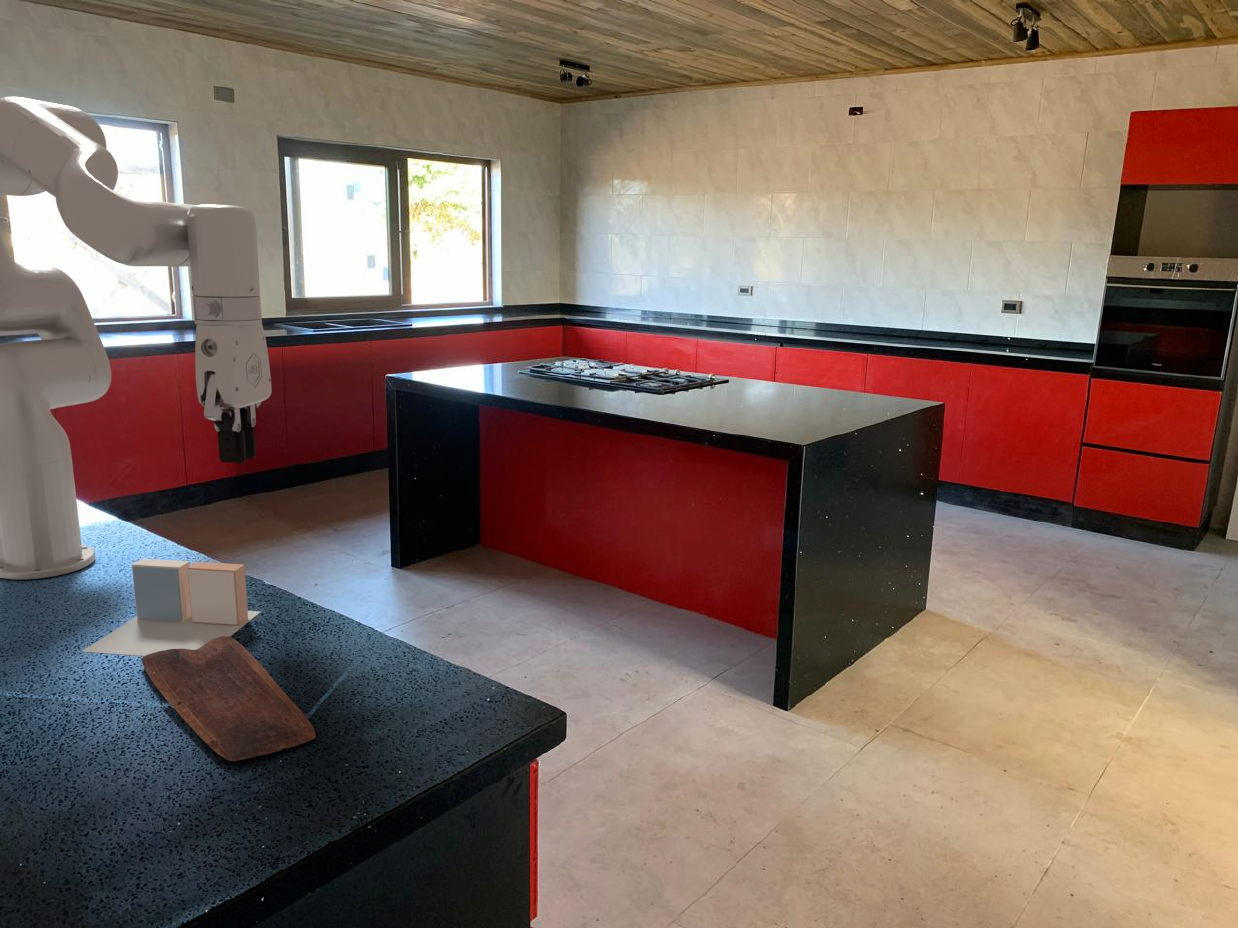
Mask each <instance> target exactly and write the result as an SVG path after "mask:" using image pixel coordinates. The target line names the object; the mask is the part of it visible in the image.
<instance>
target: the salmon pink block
mask: <svg viewBox="0 0 1238 928" xmlns="http://www.w3.org/2000/svg"><path fill="white" fill-rule="evenodd" d="M187 571H188V582H189V594H190V606H191V618H192V622H193V623H208V624H224V625H241V624H242V623H243V622H244V621H246V620H247V619H248V611H249V610H248V609H249V608H248V597H247V595H248V594H247V583H246V568H245V564H239V563H225V562H224V563H222V562H208V561H204V562H203V561H196V562H195V563H193V564H190V567H188V568H187Z"/></svg>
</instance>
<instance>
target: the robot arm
mask: <svg viewBox="0 0 1238 928" xmlns="http://www.w3.org/2000/svg"><path fill="white" fill-rule="evenodd" d="M104 133H105V132H104V130H103V129H102V128H101V125H100V124H98V122H97V120H95V118H93V117H92V116H91V115H90V114H89V113H87V112H86V111H84V110H81V109H80V108H77V107H74V106H71V105H65V104H59V103H56V102H55V103H54V102H48V101H43V100H36V99H33V98H26V97H19V96H4V97H0V195H1V196H11V197H12V196H13V197H27V196H35V195H40V194H42V193H45V192H47V193H48V194H49V195H52V196H53V197H54V198H55V203H56V207H57V210H58V213H59V215H60V217H61V219H62V222H63V223H64V225H65V226H66V228H67V229H68V230H69V232H70V233H71V234H73V235H74V236H75V237H76V238H77V239H79V240H80V241H82V243H84V244H85V245H87V246H89V247H90V248H91V249H93V250H94V251H96V252H97V253H99V254H100V255H103V256H104V257H105V258H108V259H109V260H111V261H114V262H115V263H117V264H122V265H125V266H130V267H174V268H175V267H176V268H178V267H181V268H182V267H183V268H184V267H189V269H190V282H191V283H190V285H191V295H192V305H193V307H192V310H193V318H194V319H193V320H194V325H196V327H195V328H196V329H195V347H194V350H195V351H194V352H195V353H194V354H195V355H194V356H195V357H194V359H195V362H194V364H195V365H194V366H195V384H196V385H195V387H196V393H197V399H198V402H199V404H200V405H201V406H203V407H204V409H203V417H204V418H205V419H207V420H210V421H212V422H213V423H214V425H213V426H214V429H215V431H216V432H217V441H218V443H217V444H218V455H219V456H218V457H219V461H220V462H221V463H228V464H244V463H246V462H247V460H252V459H255V458H256V457H257V451H256V450H257V447H256V446H257V445H256V437H255V436H256V435H255V434H256V433H255V432H256V431H255V426H256V423H257V419H256V418H257V417H256V416H257V414H256V412H257V411H258V408H259V407H260V405H261V404H262V403H263V401H266V400H268V399H269V398H270V396H271V395H272V392H273V391H272V390H273V389H272V378H271V369H270V368H271V367H270V359H269V358H270V357H269V351H268V345H267V339H266V334H265V329H264V327H263V320H262V319H263V318H262V302H261V287H260V272H259V271H260V270H259V254H258V237H257V235H258V234H257V223H256V218H255V215H254V213H253V212H252V211H251V210H250V209H249V208H247V207H245V206H239V205H228V204H197V205H194V204H189V203H179V202H178V203H176V202H168V201H159V200H158V201H155V200H144V199H143V200H142V199H131V198H127V197H125V196H124V195H122V194H119V193H118V192H116V191H115V188H116V185H117V182H118V178H119V176H118V175H119V168H118V164H117V161H116V159H115V158H114V155H112V153H111V152H110V151H109V150H108V149H107V147H108V146H107V141H106V136H105V134H104ZM31 334H32V335H33V334H37V335H38V336H39V338H40V339H33V340H21V341H11V342H10V341H9V342H4V343H0V579H5V580H6V579H7V580H36V579H37V580H38V579H45V578H51V577H57V576H61V575H66V574H70V573H74V572H75V571H79V570H82V569H84V568H86V567H88V566H90V565H91V564H92V563H93V562H94V561H95V559H96V551H95V550H94V549H93V548H92V547H90V546H88V545H85V544H83V545H82V537H81V527H80V522H79V520H80V519H79V510H78V504H77V503H78V501H77V495H76V494H77V492H76V491H77V490H76V485H75V475H74V464H73V458H72V457H73V456H72V450H71V443H70V440H69V436H68V434H67V433H66V431H65V429H64V428H63V427H62V425H61V424H60V423H59V422H58V420H57V419H56V418H55V416H53V413H52V411H51V410H54V409H58V408H63V407H67V406H68V407H69V406H76V405H80V404H85V403H86V404H87V403H91V402H94V401H97V400H98V399H100V398H102V397H103V396H104V395H106V394H107V392H108V390H109V389H110V385H111V382H112V370H111V369H112V368H111V364H110V360H109V357H108V354H107V351H106V350H105V347H104V344H103V342H102V340H101V337H100V334H99V332H98V328H97V326H96V324H95V322H94V320H93V317H92V314H91V312H90V309H89V306H88V304H87V302H86V300H85V298H84V295H83V293H82V291H81V289H80V288H79V286H78V285H77V283H76V282H75V280H74V279H73V278H71V276H69V275H68V274H67V273H66V272H65V271H63V270H61V269H59V268H57V267H56V266H51V265H45V264H19V263H17V262H16V261H14V259H13V258H12V256H11V255H10V252H9V251H8V249H7V246H6V243H5V241H4V238H3V236H2V234H1V233H0V336H2V337H3V336H16V335H17V336H18V335H31Z"/></svg>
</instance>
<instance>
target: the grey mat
mask: <svg viewBox="0 0 1238 928" xmlns="http://www.w3.org/2000/svg"><path fill="white" fill-rule="evenodd" d="M260 613H261V611H256V610H248V619H247V620H246V621H244V622H243V623H242V624H241V625H224V624H208V623H193V622H192V618H191V617H190V618H189V619H187V620H186V621H185V622H178V621H163V620H147V619H137V616H135V617H134V618H132V619H130V620H129V621H127V622H125V623H123V624H122V625H121V626H119V627H118V628H116V629H114V630H113V631H112V632H110V633H108V634H107V635H104V637H102V638H101V639H99V640H97V641H96V642H94V643H93V644H91V645H89V646H88V647H86V648H85V649H83V650H81V653H90V654H91V653H92V654H104V655H105V654H107V655H108V654H109V655H117V656H118V655H120V656H131V657H132V656H134V657H144V656H146V655H148V654H151V653H155V652H158V651H164V650H169V649H191V650H196V649H198V648H200V647H201V646H203V645H204V644H205V643H207V642H209V641H211V640H213V639H215V638H218V637H222V636H228V637H232V636H233V635H234V634H235V633H237V632H238V631H239V630H241V629H242V628H243V627H245V625H246V624H248V623H249V622H250V621H252V620H253V619H254V618H256V617H257V616H258V615H259V614H260Z"/></svg>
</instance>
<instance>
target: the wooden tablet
mask: <svg viewBox="0 0 1238 928" xmlns="http://www.w3.org/2000/svg"><path fill="white" fill-rule="evenodd" d="M141 663H142V666H143V668H144V670H145V672H146V674H147V675H148V677H149V679H150V680H151V682H152V683H153V685H154V687H156V689H157V690H158V691H159V692H160V694H161V695H162V696H163V697H164V699H165V700H166V702H168V704H170V706H172V708H173V709H174V710H175V711H176V712H177V713H178V714H179V717H181V718H182V720H184V722H185V723H186V724H187V725H188V726H189V727H190V728H191V729H192V730H193V731H194V732H195V734H197V736H199V737H200V739H201V740H202V741H203V742H204V743H205V744H207V745H208V746H209V748H211V749H212V750H213V751H214V752H215V753H216V754H217V755H218V756H220V757H222V758H224V759H225V760H227V761H230V762H238V761H241V760H242V761H243V760H247V759H251V758H254V757H257V756H264V755H268V754H273V753H277V752H279V751H281V750H284V749H290V748H293V747H297V746H300V745H304V744H306V743H308V742H309V741H312V740H314V739H316V737H317V734H316V731H315V729H314V727H313V725H312V723H311V722H310V720H309V719H308V717H306V715H305V714H304V713H303V711H302V710H301V709H300V708H299V707H298V706H297V705H296V704H295V703H294V702H293V701H292V700H291V698H289V696H288V695H287V694H286V693H285V692H284V690H283V689H282V688H281V687H280V686H279V685H278V683H276V681H275V680H274V679H273V677H272V676H271V675H270V674H269V672H268V671H267V670H266V669H265V668H264V667H263V665H262V664H261V663H260V662H259V661H258V659H256V658H255V657H254V656H253V655H252V654H251V653H250V651H248V650H247V649H246V648H245V647H244V645H243V644H241V643H240V642H239V641H238V640H236V639H235V638H233V637H232V636H230V637H228V636H222V637H218V638H215V639H213V640H211V641H209V642H207V643H205V644H204V645H203V646H201V647H200V648H198V649H196V650H191V649H169V650H164V651H158V652H155V653H151V654H148V655H146V656H142V658H141Z"/></svg>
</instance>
